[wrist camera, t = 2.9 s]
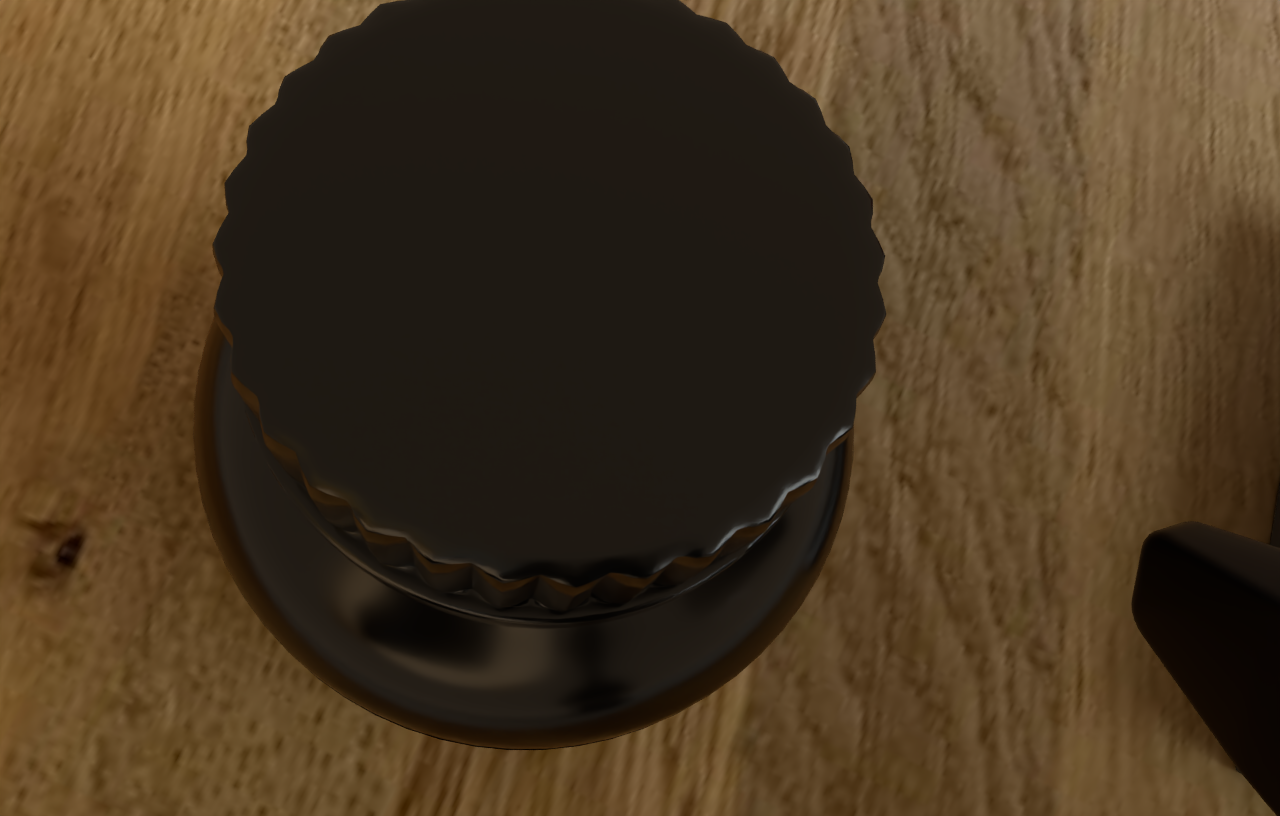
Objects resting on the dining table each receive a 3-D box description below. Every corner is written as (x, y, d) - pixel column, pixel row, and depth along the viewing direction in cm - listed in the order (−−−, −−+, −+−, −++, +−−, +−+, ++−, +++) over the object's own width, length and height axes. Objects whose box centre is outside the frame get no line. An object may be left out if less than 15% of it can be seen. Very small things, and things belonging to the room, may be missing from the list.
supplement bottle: (774, 596, 19) (1215, 423, 8) (446, 824, 17) (379, 1047, 6) (571, 293, 20) (691, -259, 9) (241, 477, 18) (-158, 81, 7)
